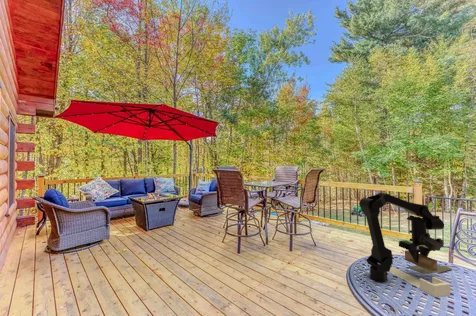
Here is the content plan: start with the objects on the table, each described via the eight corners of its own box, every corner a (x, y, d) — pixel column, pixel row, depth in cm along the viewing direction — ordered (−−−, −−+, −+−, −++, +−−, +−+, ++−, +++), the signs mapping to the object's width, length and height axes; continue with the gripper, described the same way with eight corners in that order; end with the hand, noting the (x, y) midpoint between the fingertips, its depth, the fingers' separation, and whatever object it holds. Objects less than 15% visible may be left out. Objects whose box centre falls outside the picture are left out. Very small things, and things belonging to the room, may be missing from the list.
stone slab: (405, 271, 114) (426, 277, 104) (404, 265, 114) (425, 271, 105) (433, 266, 120) (455, 271, 111) (432, 260, 121) (454, 266, 111)
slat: (430, 271, 96) (429, 261, 96) (405, 259, 108) (404, 251, 108) (437, 270, 97) (436, 260, 97) (411, 259, 108) (411, 250, 109)
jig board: (436, 299, 87) (435, 297, 87) (382, 269, 112) (382, 268, 112) (449, 297, 88) (449, 295, 88) (393, 268, 113) (393, 267, 113)
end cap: (435, 297, 87) (434, 285, 87) (419, 288, 93) (419, 278, 93) (450, 294, 88) (449, 283, 88) (434, 287, 94) (433, 276, 94)
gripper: (420, 236, 93) (422, 272, 93) (453, 233, 97) (455, 268, 96) (397, 229, 104) (398, 261, 103) (427, 227, 108) (428, 258, 107)
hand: (420, 262), depth 102 cm, fingers closed on slat, 4 cm apart
